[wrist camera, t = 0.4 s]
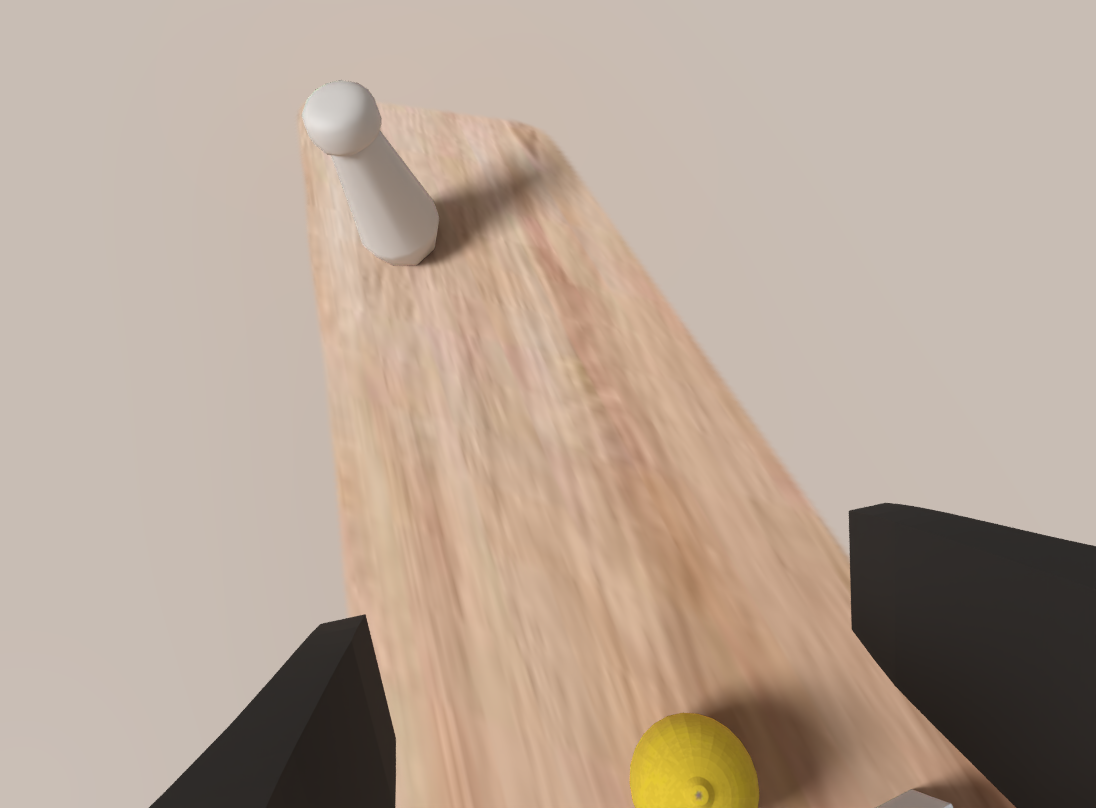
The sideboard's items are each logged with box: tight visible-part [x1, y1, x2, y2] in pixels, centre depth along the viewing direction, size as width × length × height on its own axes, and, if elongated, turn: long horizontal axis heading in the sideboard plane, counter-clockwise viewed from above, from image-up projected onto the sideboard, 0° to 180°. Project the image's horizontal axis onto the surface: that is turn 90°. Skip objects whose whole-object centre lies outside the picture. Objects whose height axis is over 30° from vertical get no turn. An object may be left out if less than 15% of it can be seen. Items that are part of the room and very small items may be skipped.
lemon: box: [630, 713, 759, 808], centre depth 29 cm, size 6×6×8 cm
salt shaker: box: [302, 80, 439, 266], centre depth 42 cm, size 6×6×13 cm
